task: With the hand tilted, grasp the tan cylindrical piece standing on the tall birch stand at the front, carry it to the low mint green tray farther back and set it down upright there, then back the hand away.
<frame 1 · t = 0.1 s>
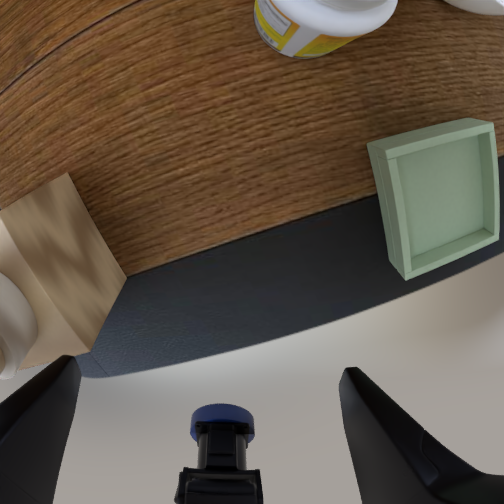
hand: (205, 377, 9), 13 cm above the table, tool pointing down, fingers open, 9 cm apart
mint green tray: (432, 188, 20), on the table
supplement bottle: (298, 20, 15), on the table
tan cylindrical piece: (0, 309, 14), point 8 cm above the table, touching stand
stand: (55, 249, 21), on the table
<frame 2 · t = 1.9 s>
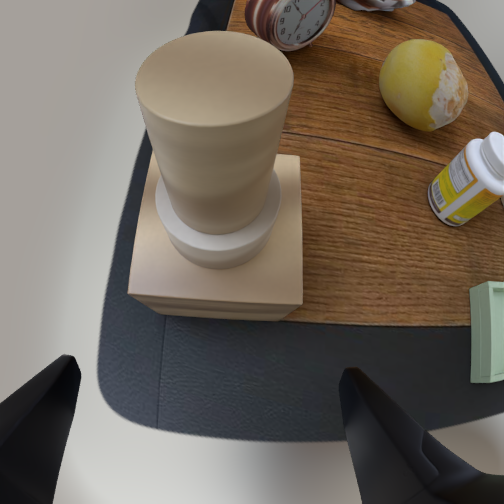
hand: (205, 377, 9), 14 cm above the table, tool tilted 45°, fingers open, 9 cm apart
alarm clock: (285, 47, 34), on the table
mint green tray: (499, 333, 24), on the table
fruit: (406, 113, 32), on the table
supplement bottle: (445, 204, 28), on the table
tan cylindrical piece: (219, 217, 17), point 8 cm above the table, touching stand
stand: (221, 260, 25), on the table
lucky cat figurine: (362, 5, 41), on the table
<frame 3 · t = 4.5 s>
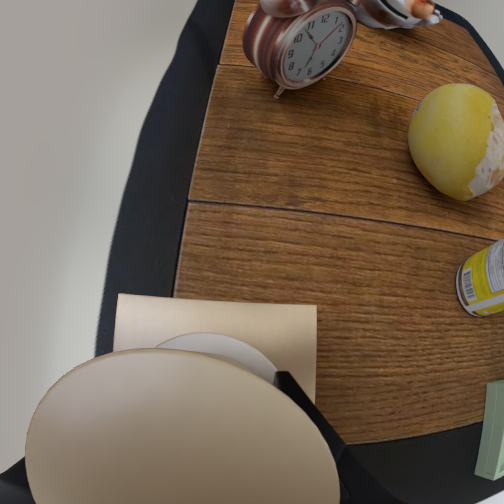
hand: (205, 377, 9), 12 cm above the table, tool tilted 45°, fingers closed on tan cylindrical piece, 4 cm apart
alarm clock: (292, 81, 29), on the table
fruit: (435, 169, 27), on the table
supplement bottle: (472, 287, 24), on the table
tan cylindrical piece: (210, 403, 12), point 8 cm above the table, touching gripper, stand
stand: (217, 385, 20), on the table
lucky cat figurine: (379, 21, 37), on the table
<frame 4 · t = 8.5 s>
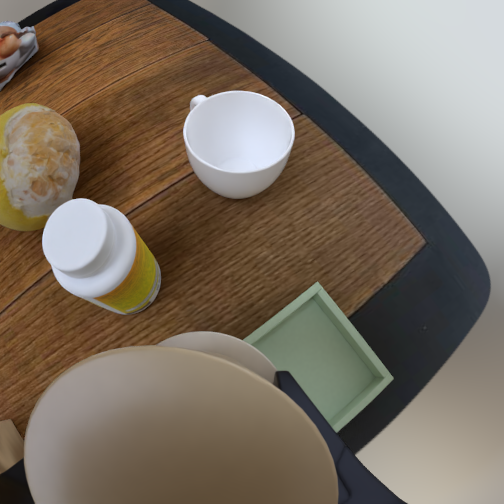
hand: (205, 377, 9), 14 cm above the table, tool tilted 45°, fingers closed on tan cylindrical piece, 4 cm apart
cup: (228, 169, 28), on the table
mint green tray: (299, 373, 22), on the table
fruit: (53, 195, 26), on the table
supplement bottle: (129, 281, 24), on the table
tan cylindrical piece: (210, 402, 12), point 10 cm above the table, touching gripper
stand: (14, 476, 17), on the table
lucky cat figurine: (10, 73, 32), on the table
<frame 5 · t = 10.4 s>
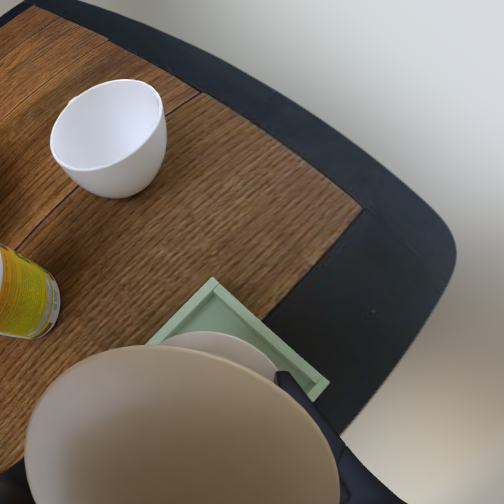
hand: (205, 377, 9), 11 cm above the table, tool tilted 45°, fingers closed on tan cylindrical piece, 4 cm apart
cup: (121, 167, 24), on the table
mint green tray: (217, 385, 19), on the table
supplement bottle: (36, 303, 20), on the table
tan cylindrical piece: (210, 402, 12), point 7 cm above the table, touching gripper
when the fingers open (5 cm above the table, at t = 12.3 s): tan cylindrical piece stays where it is, resting on mint green tray.
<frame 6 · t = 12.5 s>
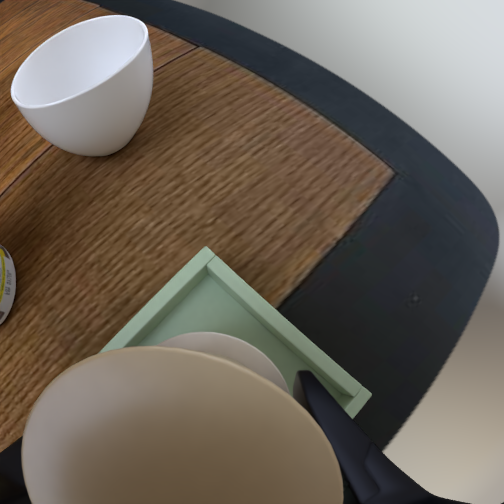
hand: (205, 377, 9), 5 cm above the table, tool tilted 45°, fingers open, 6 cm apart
cup: (99, 125, 18), on the table
mint green tray: (213, 399, 14), on the table
tan cylindrical piece: (210, 403, 12), point 2 cm above the table, touching mint green tray
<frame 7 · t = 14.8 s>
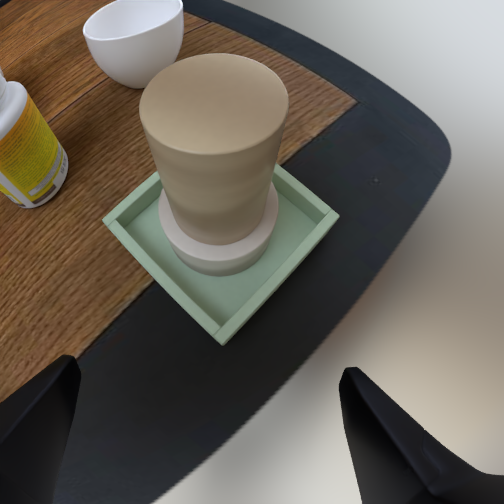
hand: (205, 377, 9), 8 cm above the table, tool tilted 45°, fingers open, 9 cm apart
cup: (138, 70, 24), on the table
mint green tray: (220, 236, 19), on the table
supplement bottle: (41, 179, 20), on the table
tan cylindrical piece: (219, 226, 18), point 1 cm above the table, touching mint green tray
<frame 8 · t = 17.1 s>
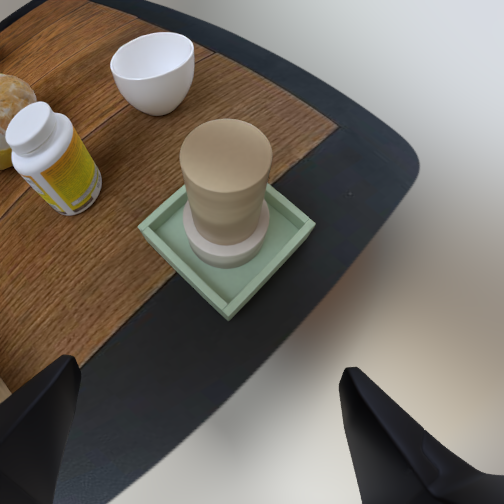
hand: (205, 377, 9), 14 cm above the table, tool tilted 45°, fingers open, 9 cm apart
cup: (154, 98, 30), on the table
mint green tray: (226, 239, 25), on the table
fruit: (18, 148, 27), on the table
supplement bottle: (78, 191, 26), on the table
tan cylindrical piece: (226, 231, 24), point 1 cm above the table, touching mint green tray
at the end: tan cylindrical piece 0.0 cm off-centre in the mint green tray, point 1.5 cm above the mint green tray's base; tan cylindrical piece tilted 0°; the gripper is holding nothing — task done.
